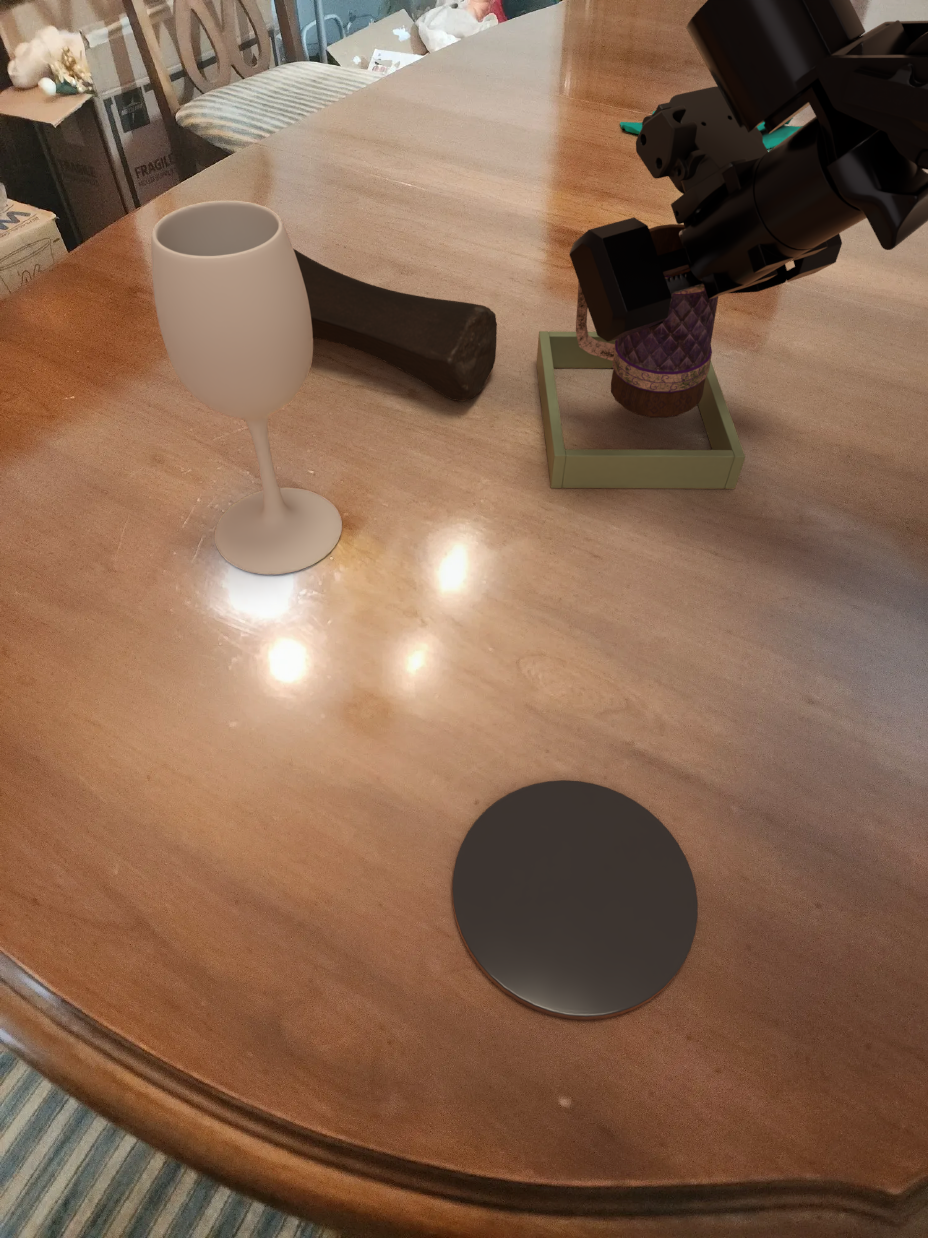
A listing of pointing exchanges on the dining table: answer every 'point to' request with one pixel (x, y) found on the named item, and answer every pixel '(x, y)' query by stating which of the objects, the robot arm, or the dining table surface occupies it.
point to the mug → (660, 348)
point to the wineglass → (243, 361)
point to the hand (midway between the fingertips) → (638, 300)
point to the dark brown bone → (404, 329)
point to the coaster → (574, 900)
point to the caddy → (633, 465)
